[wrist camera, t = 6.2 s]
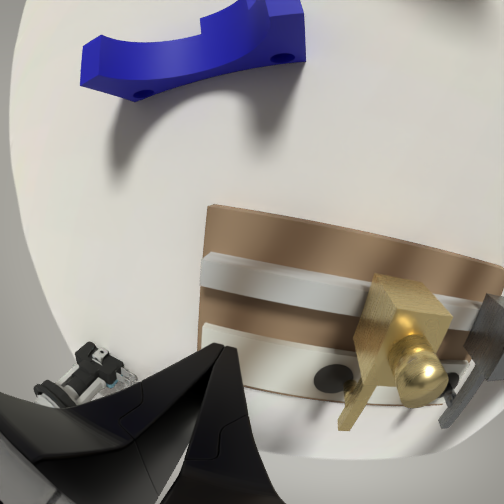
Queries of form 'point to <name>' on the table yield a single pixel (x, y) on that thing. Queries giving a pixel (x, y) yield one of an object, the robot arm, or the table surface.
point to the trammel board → (332, 260)
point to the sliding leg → (397, 346)
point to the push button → (83, 379)
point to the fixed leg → (479, 357)
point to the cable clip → (198, 50)
